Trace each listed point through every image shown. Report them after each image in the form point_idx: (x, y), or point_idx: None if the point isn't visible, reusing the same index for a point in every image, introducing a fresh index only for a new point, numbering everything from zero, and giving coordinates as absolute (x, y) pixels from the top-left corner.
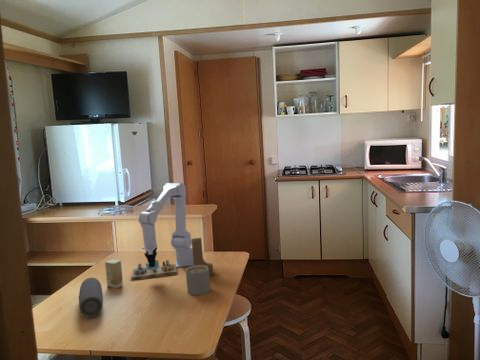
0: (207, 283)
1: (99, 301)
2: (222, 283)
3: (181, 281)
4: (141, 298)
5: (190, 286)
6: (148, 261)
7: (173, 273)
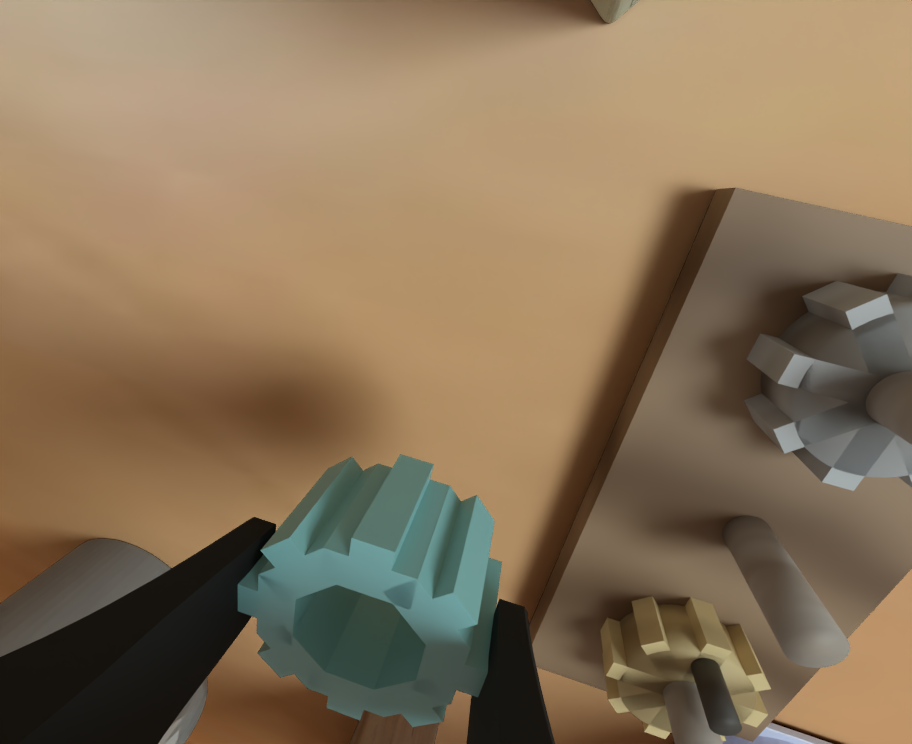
0: None
1: None
2: (201, 714)
3: None
4: (91, 210)
5: (18, 591)
6: (108, 607)
7: (533, 624)
